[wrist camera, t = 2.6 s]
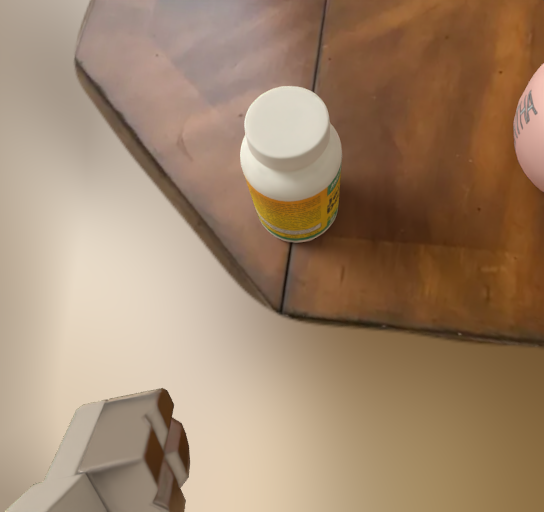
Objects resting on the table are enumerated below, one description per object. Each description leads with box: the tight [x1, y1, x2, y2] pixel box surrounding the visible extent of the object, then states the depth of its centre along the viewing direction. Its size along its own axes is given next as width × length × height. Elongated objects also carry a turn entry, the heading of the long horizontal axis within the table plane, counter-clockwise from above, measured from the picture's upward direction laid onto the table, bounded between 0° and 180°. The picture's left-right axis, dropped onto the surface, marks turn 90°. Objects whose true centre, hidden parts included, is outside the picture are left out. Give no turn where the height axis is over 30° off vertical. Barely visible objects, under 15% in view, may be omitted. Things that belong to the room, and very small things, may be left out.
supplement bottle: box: [240, 86, 342, 243], centre depth 26 cm, size 5×5×10 cm
